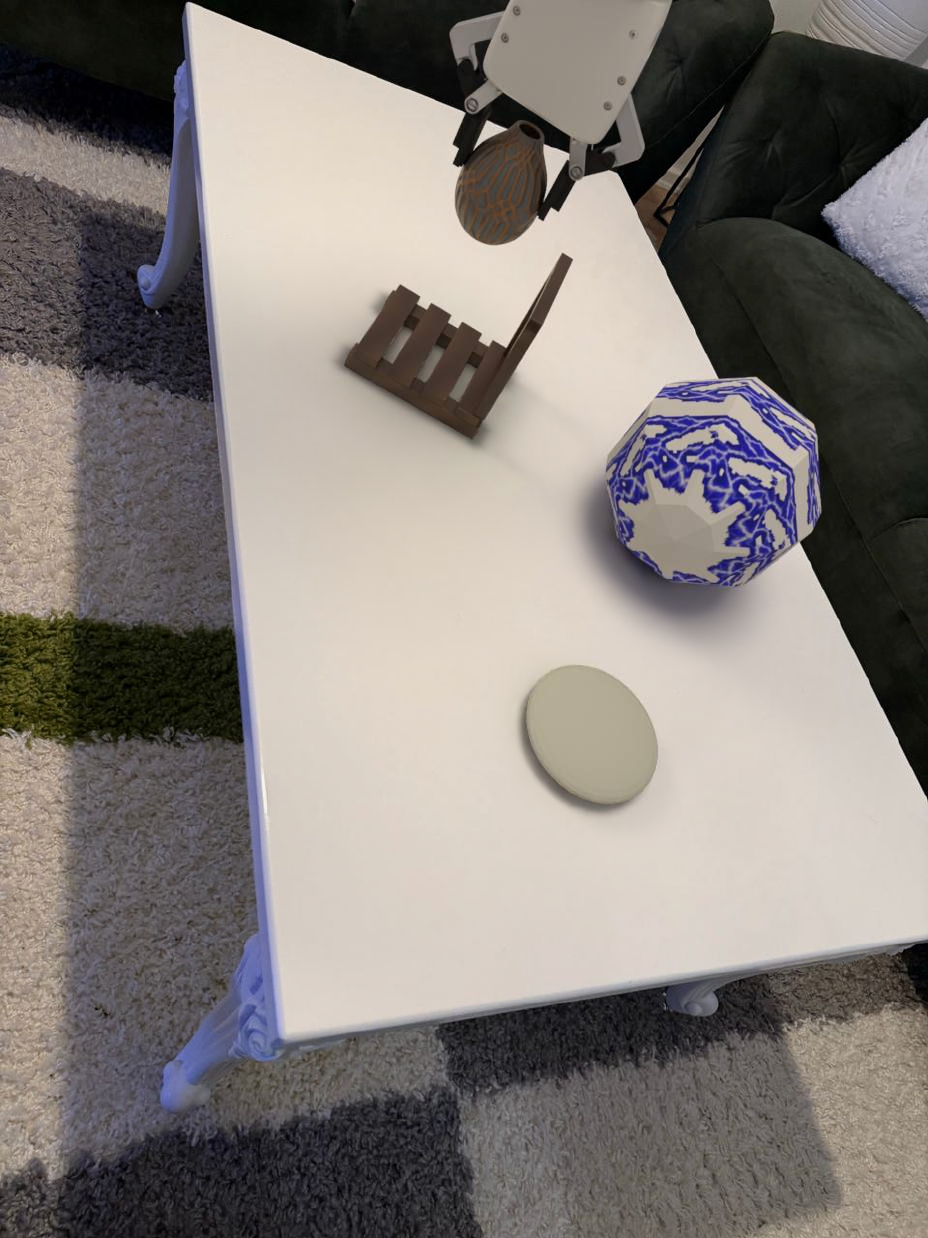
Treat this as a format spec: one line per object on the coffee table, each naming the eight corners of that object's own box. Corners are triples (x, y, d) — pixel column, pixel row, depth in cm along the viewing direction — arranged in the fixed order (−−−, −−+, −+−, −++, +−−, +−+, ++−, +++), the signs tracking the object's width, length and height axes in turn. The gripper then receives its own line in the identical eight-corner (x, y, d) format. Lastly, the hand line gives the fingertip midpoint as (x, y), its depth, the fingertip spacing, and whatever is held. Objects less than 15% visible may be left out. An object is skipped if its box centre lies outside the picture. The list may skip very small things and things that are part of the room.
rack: (343, 364, 83) (395, 236, 72) (388, 300, 91) (441, 175, 80) (472, 439, 85) (542, 325, 74) (505, 370, 93) (574, 257, 81)
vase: (445, 187, 73) (489, 86, 67) (520, 220, 76) (570, 125, 69) (440, 236, 70) (487, 134, 63) (519, 270, 72) (572, 174, 65)
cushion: (613, 840, 69) (634, 828, 66) (492, 743, 69) (509, 727, 66) (666, 735, 76) (686, 721, 74) (558, 647, 76) (575, 630, 74)
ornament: (588, 403, 72) (675, 310, 84) (554, 580, 86) (633, 478, 98) (828, 489, 65) (884, 376, 78) (749, 665, 80) (807, 545, 92)
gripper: (744, 0, 59) (605, 224, 73) (522, -155, 57) (422, 106, 71) (731, 35, 55) (586, 267, 68) (488, -133, 52) (388, 143, 66)
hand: (503, 184), depth 69 cm, fingers closed on vase, 6 cm apart
